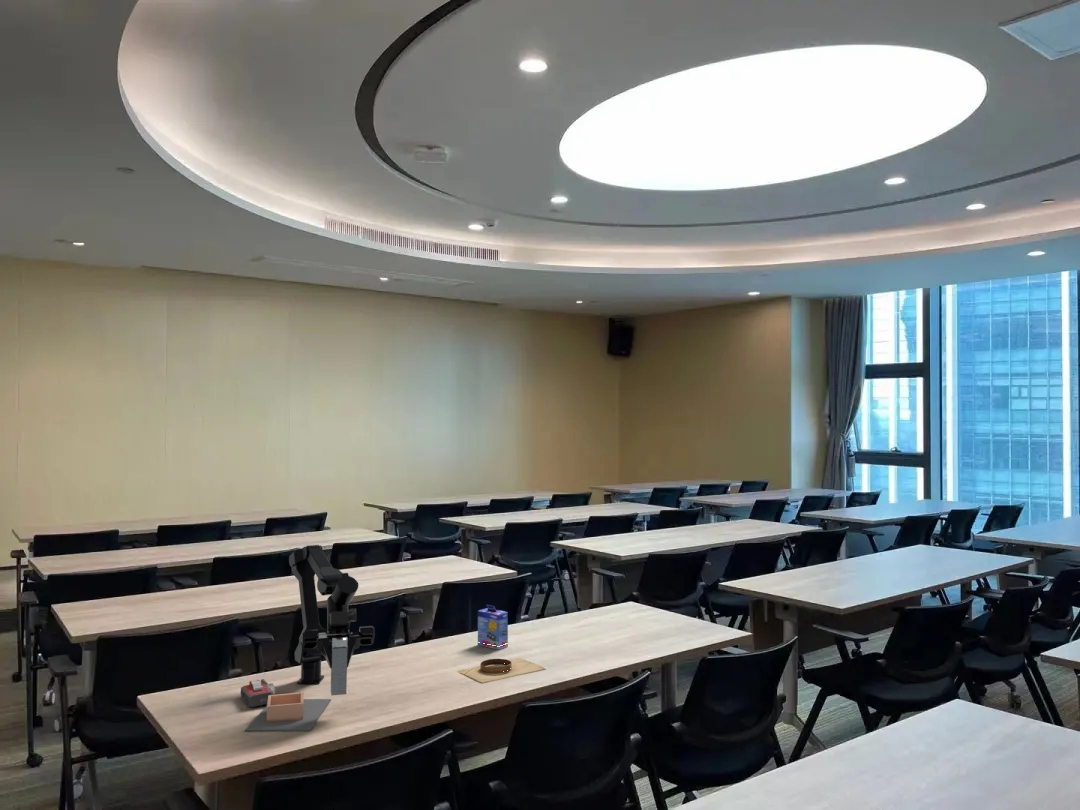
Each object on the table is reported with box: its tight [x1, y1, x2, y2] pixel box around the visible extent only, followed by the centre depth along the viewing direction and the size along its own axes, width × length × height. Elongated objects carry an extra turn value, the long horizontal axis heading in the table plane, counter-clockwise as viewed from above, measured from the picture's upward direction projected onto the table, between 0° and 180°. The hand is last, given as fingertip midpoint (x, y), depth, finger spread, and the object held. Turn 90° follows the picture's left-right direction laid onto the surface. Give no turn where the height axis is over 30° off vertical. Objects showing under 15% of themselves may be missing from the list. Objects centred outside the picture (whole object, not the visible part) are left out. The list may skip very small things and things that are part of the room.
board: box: [456, 657, 547, 685], centre depth 242 cm, size 25×15×3 cm, turn 128°
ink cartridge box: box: [477, 604, 509, 651], centre depth 270 cm, size 10×6×14 cm, turn 54°
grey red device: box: [240, 678, 276, 708], centre depth 216 cm, size 9×4×20 cm
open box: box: [266, 691, 305, 723], centre depth 201 cm, size 9×9×4 cm
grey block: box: [330, 637, 349, 697], centre depth 202 cm, size 3×4×14 cm
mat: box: [244, 698, 332, 732], centre depth 202 cm, size 22×16×1 cm
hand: (339, 666), depth 201 cm, fingers closed on grey block, 4 cm apart
